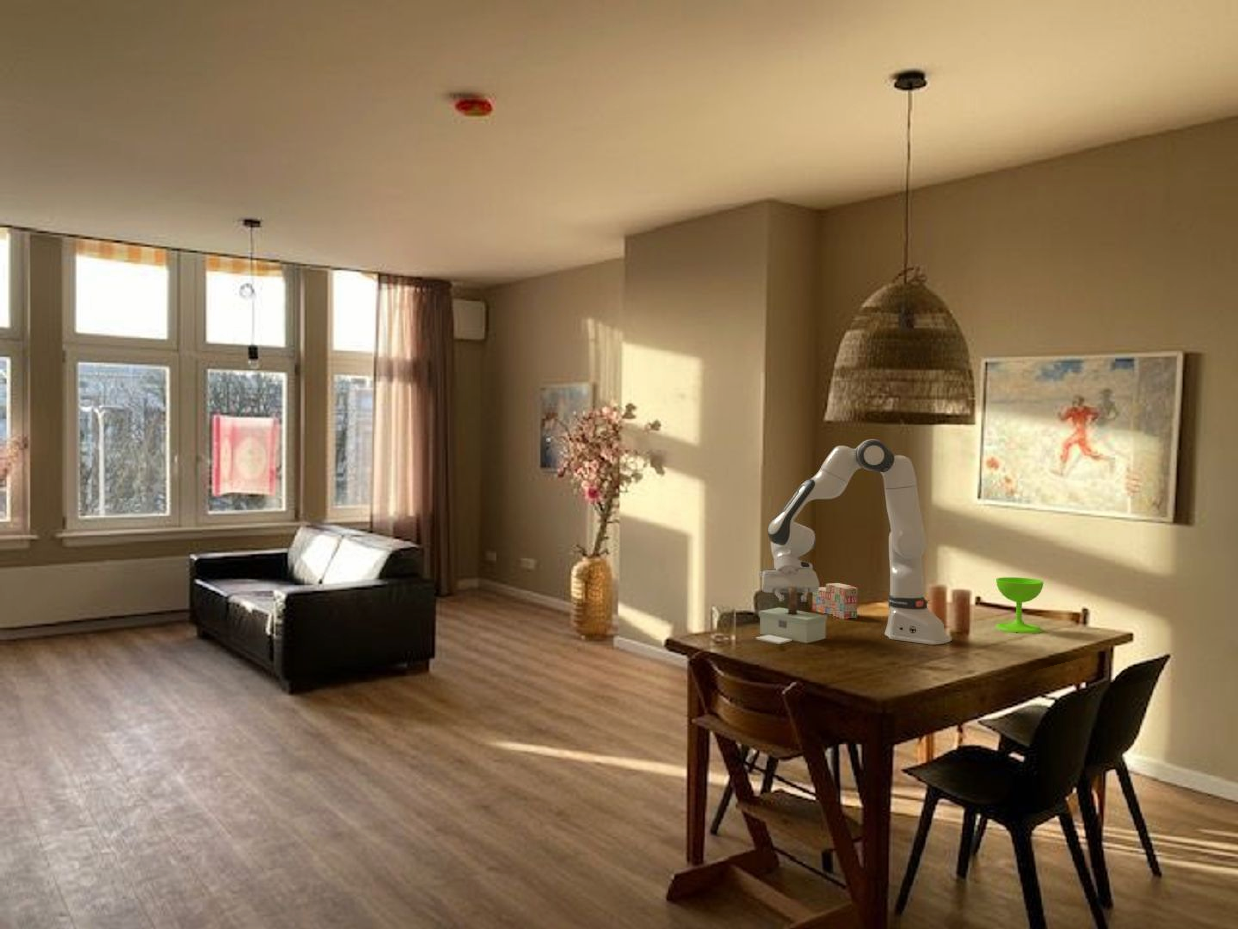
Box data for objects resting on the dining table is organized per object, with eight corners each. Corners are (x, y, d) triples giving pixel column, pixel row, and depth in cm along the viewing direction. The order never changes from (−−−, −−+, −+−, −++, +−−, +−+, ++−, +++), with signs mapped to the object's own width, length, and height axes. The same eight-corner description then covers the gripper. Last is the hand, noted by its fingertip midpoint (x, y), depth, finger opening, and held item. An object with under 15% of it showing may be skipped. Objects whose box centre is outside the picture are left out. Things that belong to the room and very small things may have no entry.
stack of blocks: (811, 610, 371) (812, 580, 371) (824, 609, 374) (824, 579, 373) (844, 619, 352) (844, 588, 351) (857, 618, 354) (857, 587, 354)
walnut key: (798, 619, 320) (799, 588, 320) (793, 620, 318) (793, 588, 318) (791, 618, 322) (792, 587, 322) (786, 619, 320) (786, 587, 320)
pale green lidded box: (826, 638, 317) (826, 615, 317) (806, 643, 309) (806, 619, 309) (778, 629, 332) (779, 607, 332) (758, 633, 324) (758, 611, 324)
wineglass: (1050, 634, 328) (1051, 584, 327) (1005, 633, 328) (1006, 583, 327) (1031, 625, 344) (1032, 577, 343) (988, 624, 344) (989, 577, 343)
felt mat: (791, 641, 312) (791, 639, 312) (779, 644, 307) (779, 642, 307) (768, 636, 319) (768, 634, 319) (755, 639, 315) (755, 637, 315)
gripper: (759, 563, 326) (765, 595, 317) (816, 563, 327) (823, 595, 318) (757, 574, 331) (762, 606, 321) (813, 574, 332) (819, 605, 322)
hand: (793, 600), depth 320 cm, fingers open, 6 cm apart
